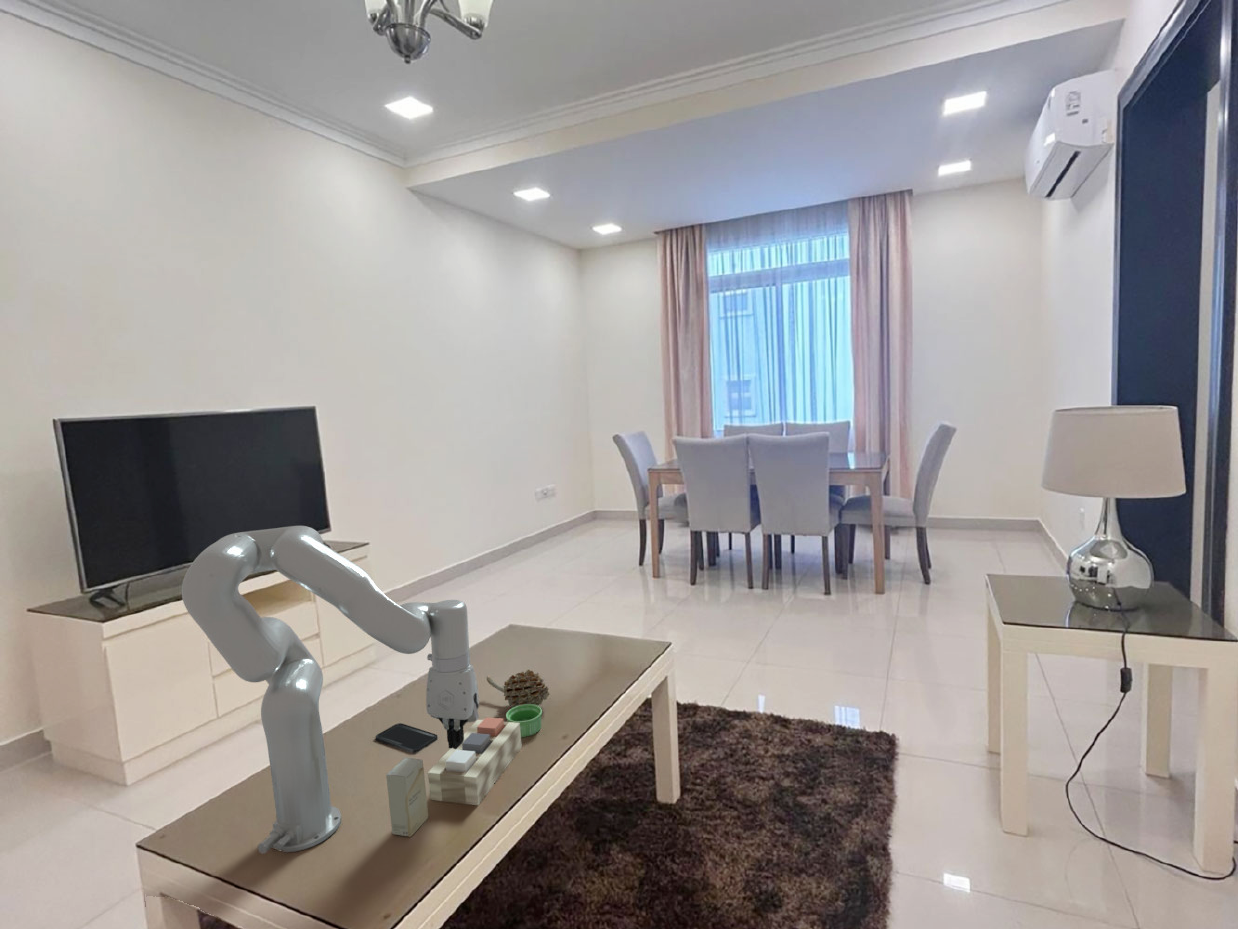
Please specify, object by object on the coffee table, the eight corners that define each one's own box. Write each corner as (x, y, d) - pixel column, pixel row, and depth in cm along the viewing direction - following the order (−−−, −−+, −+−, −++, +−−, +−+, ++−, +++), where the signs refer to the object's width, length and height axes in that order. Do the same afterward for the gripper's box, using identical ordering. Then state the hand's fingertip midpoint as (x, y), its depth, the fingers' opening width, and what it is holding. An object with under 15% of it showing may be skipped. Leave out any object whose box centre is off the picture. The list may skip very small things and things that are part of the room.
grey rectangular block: (482, 769, 137) (480, 745, 137) (464, 767, 139) (462, 743, 138) (491, 757, 142) (490, 734, 141) (473, 755, 143) (471, 732, 142)
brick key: (496, 751, 144) (494, 728, 144) (479, 749, 145) (477, 727, 145) (505, 741, 149) (503, 718, 148) (487, 739, 150) (485, 717, 149)
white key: (467, 788, 131) (465, 763, 130) (447, 786, 132) (445, 761, 131) (477, 775, 135) (475, 751, 135) (458, 773, 136) (456, 749, 136)
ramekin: (520, 743, 152) (519, 725, 151) (500, 730, 158) (498, 713, 158) (550, 728, 158) (549, 711, 157) (529, 716, 164) (528, 700, 164)
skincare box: (410, 838, 120) (404, 777, 119) (390, 834, 121) (384, 775, 120) (429, 816, 126) (424, 759, 125) (410, 813, 127) (404, 756, 126)
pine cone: (558, 703, 170) (556, 668, 169) (538, 720, 162) (535, 683, 161) (495, 690, 181) (492, 656, 180) (472, 705, 173) (469, 670, 172)
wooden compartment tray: (478, 805, 128) (475, 777, 128) (430, 799, 131) (427, 772, 131) (521, 747, 150) (519, 722, 149) (479, 743, 152) (477, 719, 152)
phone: (398, 722, 164) (439, 735, 156) (399, 726, 164) (439, 739, 156) (373, 737, 157) (414, 751, 149) (373, 741, 157) (414, 755, 149)
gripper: (409, 665, 129) (414, 751, 131) (475, 671, 125) (480, 759, 127) (429, 651, 136) (433, 732, 138) (492, 656, 133) (496, 740, 134)
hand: (456, 745), depth 132 cm, fingers closed
